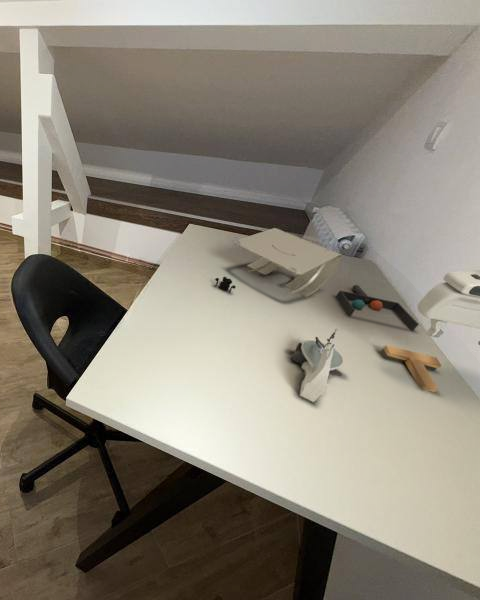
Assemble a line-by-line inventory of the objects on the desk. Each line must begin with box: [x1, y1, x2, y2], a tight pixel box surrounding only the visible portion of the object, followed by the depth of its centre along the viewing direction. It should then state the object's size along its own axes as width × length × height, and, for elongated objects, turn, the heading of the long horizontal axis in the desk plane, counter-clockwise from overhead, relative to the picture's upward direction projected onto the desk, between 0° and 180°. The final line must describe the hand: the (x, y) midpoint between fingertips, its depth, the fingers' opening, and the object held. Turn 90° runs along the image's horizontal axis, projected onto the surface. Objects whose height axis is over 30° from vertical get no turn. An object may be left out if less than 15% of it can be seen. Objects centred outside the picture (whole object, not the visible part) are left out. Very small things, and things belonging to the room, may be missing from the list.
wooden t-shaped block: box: [378, 344, 443, 393], centre depth 77 cm, size 11×12×3 cm
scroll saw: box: [288, 328, 344, 404], centre depth 71 cm, size 20×11×12 cm
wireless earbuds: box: [214, 276, 237, 294], centre depth 104 cm, size 7×2×5 cm, turn 43°
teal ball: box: [351, 300, 366, 310], centre depth 102 cm, size 3×3×3 cm
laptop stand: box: [233, 227, 343, 298], centre depth 109 cm, size 26×24×16 cm
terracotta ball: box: [369, 300, 383, 311], centre depth 102 cm, size 3×3×3 cm
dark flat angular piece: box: [335, 284, 420, 332], centre depth 104 cm, size 22×17×3 cm
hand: (457, 340), depth 70 cm, fingers open, 8 cm apart
